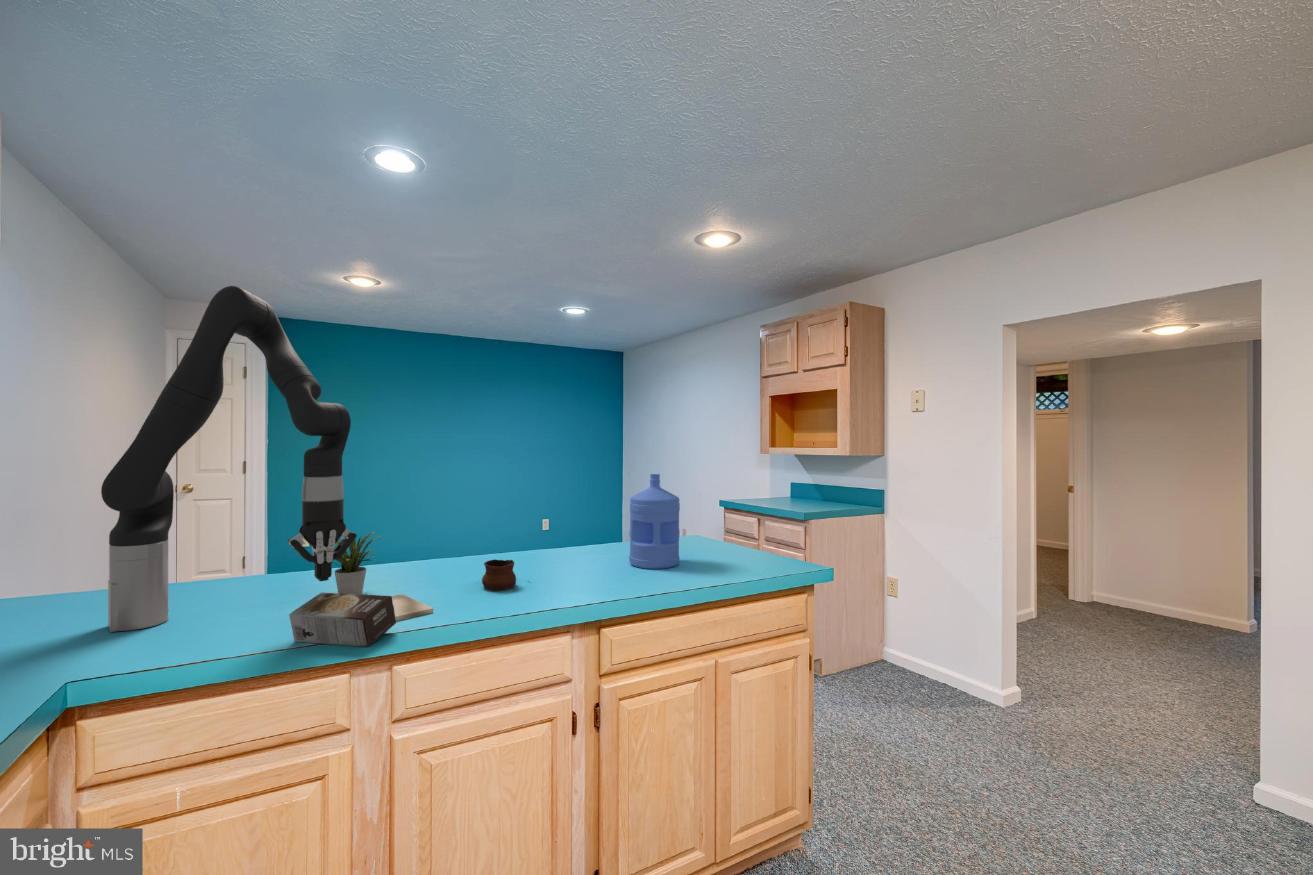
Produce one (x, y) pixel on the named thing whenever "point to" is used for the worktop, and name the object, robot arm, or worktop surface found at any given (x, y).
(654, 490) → the water jug
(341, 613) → the coffee box
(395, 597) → the cutting board
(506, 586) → the ceramic pot
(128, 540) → the robot arm
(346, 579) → the house plant
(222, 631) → the worktop surface
